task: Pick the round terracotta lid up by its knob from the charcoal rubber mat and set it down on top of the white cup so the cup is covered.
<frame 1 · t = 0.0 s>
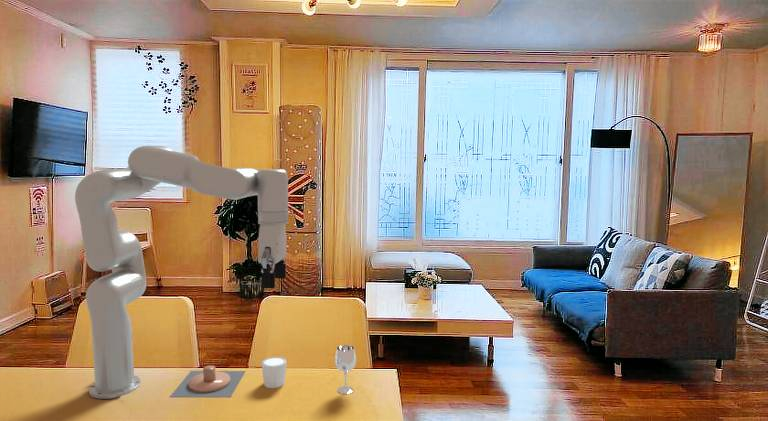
hand: (274, 282, 135), 31 cm above the table, tool pointing down, fingers open, 9 cm apart
white cup: (274, 386, 145), on the table
wineglass: (345, 390, 143), on the table
mat: (209, 385, 145), on the table
lid: (209, 383, 145), point 1 cm above the table, touching mat
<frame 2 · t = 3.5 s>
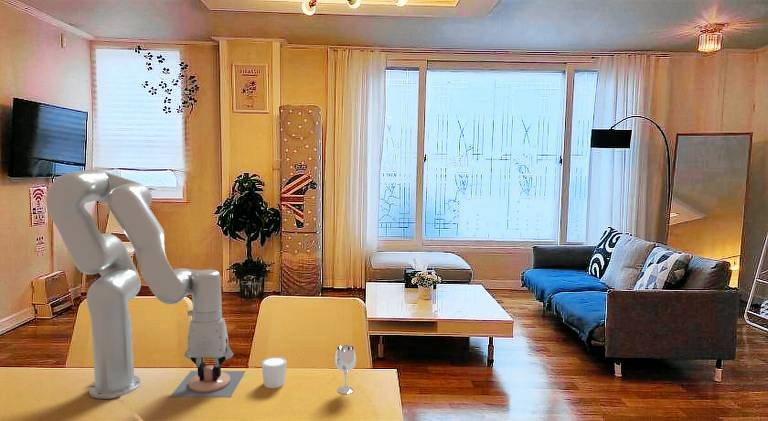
hand: (209, 378, 145), 2 cm above the table, tool pointing down, fingers closed on lid, 3 cm apart
lid: (209, 383, 145), point 1 cm above the table, touching gripper, mat
everything else where it was.
when the fingers open (10 cm above the table, at t = 9.3 s): lid drops 2 cm, resting on white cup.
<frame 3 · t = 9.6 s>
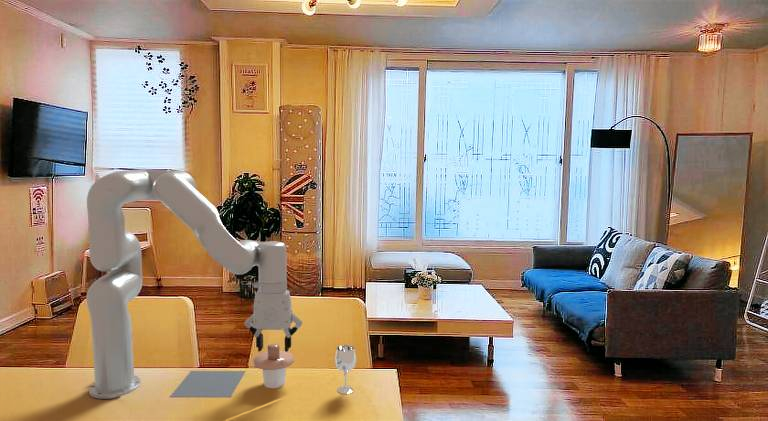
hand: (273, 349, 144), 10 cm above the table, tool pointing down, fingers open, 6 cm apart
white cup: (274, 386, 145), on the table, touching lid
lid: (273, 361, 145), point 7 cm above the table, touching white cup
everything else where it was.
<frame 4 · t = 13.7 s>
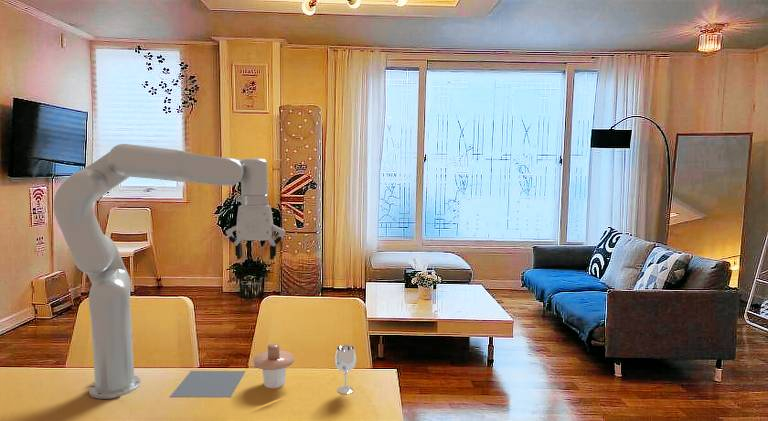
hand: (256, 258, 154), 33 cm above the table, tool pointing down, fingers open, 9 cm apart
nothing on the table moved.
at the end: lid 0.1 cm from the white cup (horizontally); lid point 6.9 cm above the table; lid tilted 0° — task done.
